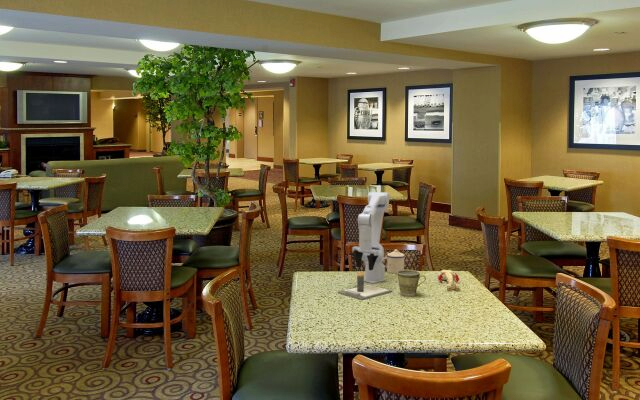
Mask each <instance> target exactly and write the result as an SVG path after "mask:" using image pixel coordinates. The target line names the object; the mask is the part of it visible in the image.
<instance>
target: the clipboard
mask: <svg viewBox="0 0 640 400" xmlns="http://www.w3.org/2000/svg"><path fill="white" fill-rule="evenodd" d="M389 293H390V294H391V293H393V290H391V289H387V288H384V287H380V286H376V285H374V284H368V283H367V284H364V291H363V292H358V291H357V286H356V287H350V288H347V289H343V290H339V291H337V294H340V295H342V296H347V297H351V298H353V299H356V300H360V301H363V300H368V299H371V298H375V297H377V296H378V297H379V296H382V295H386V294H389Z"/></svg>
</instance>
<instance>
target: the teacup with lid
mask: <svg viewBox="0 0 640 400" xmlns="http://www.w3.org/2000/svg"><path fill="white" fill-rule="evenodd" d="M405 257H406V256H405V254H404V253H402V252H400V251H399V250H398V249H394V250H393V251H391V252H389V253H387V255H386V256H384V259H383V262H384V260H386V263H387V264H386V265H385V264H384V263H383V262H382V263H383V264H384V267H385V268H386V272H387V273H389V274H394V273H396V274H395V275H398V274H397V272H398V271H400V270H405Z"/></svg>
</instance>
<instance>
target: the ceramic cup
mask: <svg viewBox="0 0 640 400" xmlns="http://www.w3.org/2000/svg"><path fill="white" fill-rule="evenodd" d="M396 275H397V280H398V286H399V287H398V288H399V292H400V295H402V296H405V297H414V296H416V294H417V289H418V287H420V286H421V285H422V284H423V283H425V282H426V281H427V278H426V276H425V275H424V274H423V275H421V272H420V271H419V270H414V269H404V270H400V271H398V272H397V274H396ZM421 278H424V280H423V281H422V282H420V283H419V280H420V279H421Z"/></svg>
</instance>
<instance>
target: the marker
mask: <svg viewBox="0 0 640 400" xmlns="http://www.w3.org/2000/svg"><path fill="white" fill-rule="evenodd" d="M356 279H357V280H356V287H357V291H358V292H363V291H364V285H365V281H364V279H365V272H364V273H363V272H357V274H356Z"/></svg>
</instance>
